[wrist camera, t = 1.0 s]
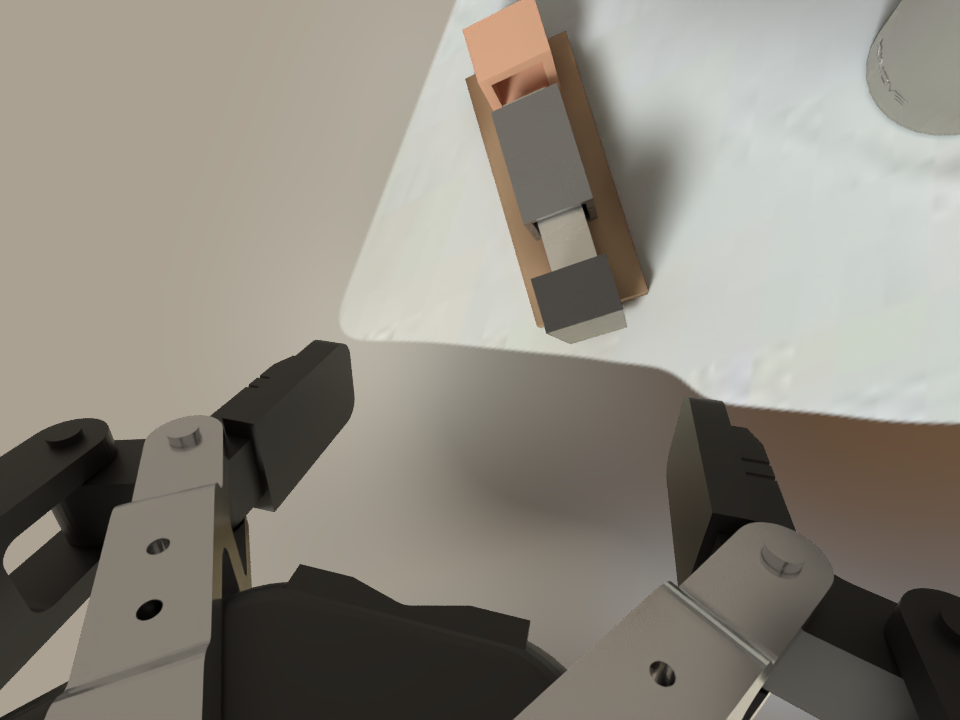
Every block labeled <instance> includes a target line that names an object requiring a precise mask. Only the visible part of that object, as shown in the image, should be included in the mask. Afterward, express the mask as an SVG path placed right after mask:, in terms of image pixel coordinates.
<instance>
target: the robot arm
mask: <svg viewBox="0 0 960 720" xmlns="http://www.w3.org/2000/svg"><path fill="white" fill-rule="evenodd" d="M866 79H867V83H868V87H869V91H870V94H871V96H872V98H873V99H874V101H875V103H876V105H877V106H878V107H879V108H880V110H881V111H882V112H883V113H884V114H885V115H886V116H887V117H888V118H890V119H891V120H893V121H894V122H896V123H897V124H899V125H900V126H903V127H905V128H908V129H911V130H913V131H916V132H920V133H926V134H931V135H957V134H960V0H902V1H901V2H900V4H899V5H898V7H897V8H896V10H895V11H894V12H893V14H892V15H891V17H890V18H889V19H888V21H887V22H886V24H885V25H884V26H883V28H882V29H881V31H880V32H879V34H878V35H877V37H876V39H875V41H874V43H873V45H872V47H871V50H870V53H869V57H868V61H867V76H866ZM353 407H354V388H353V379H352V369H351V359H350V352H349V349H348V347H347V345H345V344H342V343H335V342H328V341H322V340H315V341H313V342H311V343H310V344H309V345H308V346H307V347H306V348H304V349H303V350H302V351H301V352H300V353H298V354H297V355H296V356H292V357H289V358H287V359H285V360H282V361H280V362H278V363H276V364H274V365H273V366H271V367H270V368H269V369H267V370H266V371H265V372H264V373H263V374H261V375H260V378H256V379H255V380H254V381H253V382H251V383H250V384H249V387H245V388H244V389H243V390H242V391H240V392H239V393H238V394H237V395H235V396H234V397H233V398H232V399H231V400H229V401H228V402H227V403H226V404H224V405H223V406H222V407H221V408H220V409H218V410H217V411H216V412H215V413H213V414H212V415H211V416H202V415H199V416H188V417H183V418H179V419H176V420H173V421H170V422H168V423H166V424H164V425H162V426H160V427H159V428H157V429H155V430H154V431H153V432H152V433H151V434H150V435H149V436H148V437H147V438H146V439H136V440H114V439H113V437H112V434H111V432H110V429H109V427H108V425H107V423H105V422H104V421H102V420H99V419H93V418H85V419H84V418H83V419H75V420H70V421H66V422H62V423H59V424H56V425H53V426H51V427H48V428H46V429H44V430H42V431H40V432H39V433H37V434H35V435H34V436H32V437H31V438H29V439H27V440H26V441H24V442H23V443H22V444H20V445H18V446H17V447H15V448H13V449H12V450H11V451H9V452H7V453H6V454H4V455H3V456H1V457H0V690H1V689H2V688H3V686H4V685H5V684H6V683H7V682H8V681H9V680H10V679H11V678H12V677H13V676H14V675H15V674H16V673H17V672H18V671H19V670H20V669H21V668H22V667H23V666H24V665H25V664H26V663H27V661H28V660H29V659H30V658H31V657H32V656H33V655H34V654H35V653H36V652H37V651H38V650H39V649H40V648H41V647H42V646H43V645H44V643H46V642H47V640H49V638H50V637H51V636H52V635H53V634H54V633H55V632H56V631H57V630H58V629H59V628H60V627H61V626H62V625H63V624H64V623H65V622H66V621H67V620H68V619H69V618H70V616H72V615H73V613H75V611H76V610H77V609H78V608H79V607H80V606H81V605H82V604H83V603H84V602H85V601H86V600H87V599H88V598H89V597H90V600H89V604H88V608H87V612H86V616H85V620H84V624H83V627H82V631H81V635H80V639H79V643H78V647H77V651H76V655H75V659H74V663H73V667H72V671H71V675H70V678H69V681H68V682H66V683H64V684H62V685H60V686H58V687H57V688H55V689H53V690H51V691H49V692H47V693H45V694H43V695H42V696H40V697H38V698H36V699H34V700H32V701H31V702H29V703H27V704H25V705H23V706H21V707H19V708H17V709H15V710H13V711H12V712H10V713H8V714H6V715H4V716H2V717H1V718H0V720H753V718H754V717H755V715H756V714H757V713H758V711H759V710H760V708H761V707H762V706H763V704H764V702H765V701H766V700H767V698H768V697H769V696H770V694H771V693H772V694H774V695H776V696H778V697H780V698H782V699H783V700H785V701H787V702H789V703H791V704H792V705H794V706H796V707H798V708H800V709H802V710H804V711H805V712H807V713H809V714H811V715H813V716H814V717H816V718H818V719H820V720H960V597H957V596H954V595H952V594H949V593H946V592H943V591H939V590H934V589H927V588H926V589H925V588H920V589H919V588H918V589H913V590H910V591H908V592H907V593H905V594H904V595H903V597H902V598H901V600H900V601H899V602H898V603H895V602H893V601H891V600H888V599H886V598H884V597H881V596H879V595H877V594H874V593H872V592H870V591H867V590H865V589H863V588H860V587H858V586H855V585H853V584H851V583H849V582H847V581H845V580H843V579H841V578H839V577H838V576H836V575H834V573H833V568H832V566H831V564H830V562H829V560H828V558H827V557H826V556H825V554H824V553H823V552H822V551H821V550H820V549H819V548H818V547H817V546H816V545H815V544H813V543H812V542H811V541H810V540H809V539H807V538H806V537H804V536H802V535H801V534H799V533H797V532H796V530H795V528H794V525H793V522H792V520H791V517H790V514H789V512H788V509H787V507H786V504H785V501H784V499H783V496H782V493H781V491H780V488H779V486H778V483H777V481H775V475H774V473H773V470H772V467H771V466H769V463H770V462H769V459H768V457H767V454H766V452H765V449H764V446H763V444H761V442H759V440H758V439H757V438H756V437H754V435H753V434H752V433H751V432H750V431H749V430H748V429H747V428H742V427H736V426H731V424H730V421H729V417H728V414H727V411H726V408H725V405H724V403H723V402H722V401H717V400H710V399H704V398H696V397H690V396H686V397H685V399H684V401H683V404H682V407H681V411H680V414H679V418H678V422H677V426H676V429H675V433H674V437H673V440H672V444H671V448H670V452H669V456H668V463H667V488H668V497H669V506H670V516H671V524H672V534H673V544H674V553H675V562H676V572H677V581H678V587H677V586H676V585H675V584H673V583H672V582H670V581H668V582H665V583H663V584H662V585H660V586H659V587H658V588H657V589H655V590H654V591H653V592H652V593H651V594H650V595H649V596H648V597H647V598H646V599H644V600H643V601H642V602H641V603H640V604H639V605H638V606H637V607H636V608H635V609H634V610H633V611H631V612H630V613H629V614H628V615H627V616H626V617H625V618H624V619H623V620H622V621H620V622H619V623H618V624H617V625H616V626H615V627H614V628H613V629H612V630H611V631H610V632H608V633H607V634H606V635H605V636H604V637H603V638H602V639H601V640H600V641H599V642H598V643H596V644H595V645H594V646H593V647H592V648H591V649H590V650H589V651H588V652H587V653H585V655H583V656H582V657H581V658H580V659H579V660H578V661H577V662H576V663H575V664H573V665H572V666H571V667H570V668H569V669H568V670H567V669H566V668H565V667H564V666H562V665H561V664H560V663H559V662H558V661H557V660H556V659H555V658H553V657H552V656H550V655H549V654H548V653H546V652H545V651H543V650H542V649H541V648H539V647H538V646H536V645H534V644H532V643H530V642H529V641H528V635H529V626H530V620H526V619H521V618H517V617H514V616H509V615H505V614H501V613H497V612H493V611H489V610H485V609H481V608H477V607H473V606H409V605H403V604H401V603H398V602H396V601H394V600H393V599H391V598H389V597H387V596H386V595H384V594H382V593H380V592H378V591H377V590H375V589H373V588H371V587H370V586H368V585H366V584H364V583H362V582H361V581H359V580H357V579H355V578H354V577H350V576H346V575H342V574H338V573H334V572H330V571H326V570H322V569H317V568H313V567H310V566H306V565H301V564H300V565H299V567H298V568H297V570H296V571H295V573H294V574H293V576H292V577H291V578H290V580H289V582H282V583H274V584H267V585H262V586H258V587H253V588H252V581H251V561H250V542H249V525H248V520H247V517H246V515H247V514H248V513H249V511H250V510H251V509H252V508H253V507H254V508H258V509H263V510H267V511H272V512H275V511H276V510H277V508H278V507H279V506H280V505H281V503H282V502H283V501H284V500H285V499H286V497H287V496H288V494H290V492H291V491H292V490H293V489H294V487H295V486H296V485H297V483H298V482H299V481H300V480H301V479H302V478H303V476H304V475H305V474H306V473H307V471H308V470H309V469H310V468H311V466H312V465H313V464H314V463H315V461H316V460H317V459H318V458H319V456H320V455H321V454H322V453H323V452H324V450H325V449H326V448H327V447H328V445H329V444H330V443H331V442H332V440H333V439H334V438H335V436H336V435H337V434H338V433H339V432H340V430H341V429H342V428H343V427H344V425H345V424H346V423H347V422H348V420H349V419H350V417H351V414H352V411H353ZM50 510H52V511H53V514H54V516H55V518H56V520H57V521H58V524H59V525H60V527H61V529H62V530H61V531H60V532H58V533H57V534H56V535H55V536H54V537H53V538H52V539H50V540H49V541H48V542H47V543H46V544H44V545H43V546H42V547H41V548H40V549H39V550H37V551H36V552H35V553H34V554H33V555H32V556H30V557H29V558H28V559H27V560H26V561H25V562H24V563H22V564H21V565H20V566H19V567H18V568H17V569H15V570H14V571H13V572H12V573H11V574H10V575H8V574H7V573H6V571H5V569H4V566H3V558H4V554H5V551H6V550H7V548H8V546H9V545H10V543H11V542H12V541H13V540H14V539H15V538H16V537H17V536H19V535H20V534H21V533H22V532H24V530H26V529H27V528H28V527H30V526H31V525H32V524H33V523H35V522H36V521H37V520H38V519H40V518H41V517H42V516H43V515H45V514H46V513H47V512H48V511H50Z"/></svg>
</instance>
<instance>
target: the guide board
mask: <svg viewBox="0 0 960 720" xmlns="http://www.w3.org/2000/svg"><path fill="white" fill-rule="evenodd" d="M548 44H549V47H550V50H551V54H552V57H553V61H554V65H555V69H556V72H557V76H558V80H559V83H560V87H561V90H560V93H561V97H562V100H563V103H564V106H565V110H566V113H567V116H568V119H569V122H570V126H571V129H572V132H573V135H574V138H575V142H576V145H577V148H578V151H579V155H580V158H581V161H582V164H583V167H584V171H585V174H586V177H587V180H588V183H589V187H590V190H591V193H592V196H593V200H594V204H595V208H596V212H597V215H598V219H595V220H592V221H590V222H587V224H588V227H589V230H590V233H591V237H592V240H593V243H594V246H595V250H596V253H597V256H598V255H601V254H604V253H606V255H607V259H608V262H609V265H610V268H611V272H612V275H613V278H614V281H615V284H616V288H617V291H618V294H619V297H620V301H621V302H624V301H627V300H631V299H634V298H637V297H640V296H643V295H646V294H648V289H647V286H646V283H645V280H644V277H643V274H642V270H641V267H640V264H639V261H638V258H637V255H636V251H635V248H634V245H633V242H632V239H631V236H630V233H629V229H628V226H627V223H626V220H625V217H624V214H623V210H622V207H621V204H620V201H619V198H618V195H617V192H616V188H615V185H614V182H613V179H612V176H611V173H610V169H609V166H608V163H607V160H606V157H605V154H604V151H603V147H602V144H601V141H600V138H599V135H598V132H597V128H596V125H595V122H594V119H593V116H592V113H591V110H590V106H589V103H588V100H587V97H586V94H585V91H584V87H583V84H582V81H581V78H580V75H579V72H578V69H577V65H576V62H575V59H574V56H573V53H572V50H571V46H570V43H569V40H568V37H567V34H566V31H564V32H562V33H560V34H558V35H556V36H554V37H552V38H550V39H548ZM465 80H466V83H467V87H468V90H469V93H470V97H471V100H472V104H473V107H474V111H475V114H476V118H477V121H478V124H479V128H480V131H481V135H482V138H483V142H484V145H485V149H486V152H487V155H488V159H489V162H490V166H491V169H492V173H493V176H494V180H495V183H496V186H497V190H498V193H499V197H500V200H501V204H502V207H503V211H504V214H505V217H506V221H507V224H508V228H509V231H510V235H511V238H512V242H513V245H514V249H515V252H516V255H517V259H518V262H519V266H520V269H521V273H522V276H523V280H524V283H525V286H526V290H527V293H528V297H529V300H530V304H531V307H532V311H533V314H534V317H535V321H536V324H537V326H538V327H540V328H542V327H544V323H543V320H542V317H541V313H540V310H539V306H538V303H537V299H536V296H535V293H534V289H533V286H532V282H531V279H532V278H535V277H538V276H541V275H544V274H546V273H549V272H552V271H551V267H550V264H549V261H548V257H547V254H546V250H545V247H544V244H543V240H542V239H541V240H538V241H536V240H535V239H534V237H533V236H532V235H531V233H530V232H529V231H528V229H527V228H526V227H525V225H524V224H523V221H522V217H521V214H520V210H519V207H518V204H517V200H516V197H515V193H514V190H513V187H512V183H511V180H510V176H509V173H508V170H507V166H506V163H505V159H504V156H503V153H502V149H501V146H500V142H499V139H498V136H497V132H496V129H495V125H494V122H493V118H492V115H491V112H493V109H492V107H491V106H490V104H489V102H488V100H487V98H486V97H485V95H484V93H483V91H482V89H481V88H480V86H479V84H478V81H477V77H476V74H474V75H472V76H470V77H468V78H466V79H465Z"/></svg>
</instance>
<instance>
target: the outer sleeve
mask: <svg viewBox="0 0 960 720" xmlns="http://www.w3.org/2000/svg"><path fill="white" fill-rule="evenodd" d="M491 115H492V118H493V122H494V125H495V129H496V132H497V136H498V139H499V142H500V146H501V149H502V153H503V156H504V159H505V163H506V166H507V170H508V173H509V176H510V180H511V183H512V187H513V190H514V193H515V197H516V200H517V204H518V207H519V210H520V214H521V217H522V221H523V224H524V225H525V227H526V228H527V229H528V231H529V232H530V233H531V235H532V236H533V237H534V239H535V240H536V241H538V240H541V239H542V237H541V234H540V230H539V227H538V224H537V221H539V220H542V219H545V218H547V217H550V216H553V215H555V214H558V213H561V212H563V211H566V210H568V209H571V208H574V207H576V206H579V205H582V207H583V211H584V214H585V217H586V220H587V222H590V221H592V220H595V219H598V215H597V212H596V208H595V204H594V200H593V196H592V193H591V190H590V187H589V183H588V180H587V177H586V174H585V171H584V167H583V164H582V161H581V158H580V155H579V151H578V148H577V145H576V142H575V138H574V135H573V132H572V129H571V126H570V122H569V119H568V116H567V113H566V110H565V106H564V103H563V100H562V97H561V93H560V90H559V87H558V84H557V83H555V84H553V85H550V86H548V87H546V88H544V89H542V90H539V91H537V92H535V93H533V94H530V95H528V96H526V97H524V98H522V99H519V100H517V101H515V102H513V103H511V104H508V105H506V106H504V107H502V108H499V109H497V110H495V111H493V112H491Z"/></svg>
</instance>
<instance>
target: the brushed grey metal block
mask: <svg viewBox="0 0 960 720" xmlns="http://www.w3.org/2000/svg"><path fill="white" fill-rule="evenodd" d="M544 88H545V87H543V88H541V89H539V90H542V89H544ZM539 90H536V91H534V92H532V93H530V94H533V93H535V92H537V91H539ZM530 94H528V95H530ZM528 95H525V96H523V97H521V98H519V99H522V98H524V97H526V96H528ZM519 99H517V100H519ZM517 100H514V101H512V102H510V103H508V104H511V103H513V102H515V101H517ZM508 104H506V105H508ZM506 105H503V107H504V106H506ZM537 224H538V227H539V230H540V234H541V237H542V240H543V244H544V247H545V250H546V254H547V257H548V261H549V264H550V267H551V271H552V272H549V273H546V274H544V275H541V276H538V277H535V278H532V279H531V282H532V286H533V289H534V293H535V296H536V299H537V303H538V306H539V310H540V313H541V317H542V320H543V323H544V327H545V330H546V334H549V335H551V336H553V337H556V338H558V339H560V340H562V341H565V342H567V343H569V344H573V343H576V342H579V341H583V340H586V339H589V338H593V337H596V336H599V335H602V334H606V333H609V332H612V331H616V330H619V329H622V328H626V327H627V323H626V319H625V315H624V310H623V307H622V304H621V301H620V297H619V294H618V291H617V288H616V284H615V281H614V278H613V275H612V272H611V268H610V265H609V262H608V259H607V255H606V253H604V254H601V255H598V256H597V253H596V250H595V246H594V243H593V240H592V237H591V233H590V230H589V227H588V224H587V220H586V217H585V214H584V211H583V207H582V205H579V206H576V207H574V208H571V209H568V210H566V211H563V212H561V213H558V214H555V215H553V216H550V217H547V218H545V219H542V220H539V221H537Z"/></svg>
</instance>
